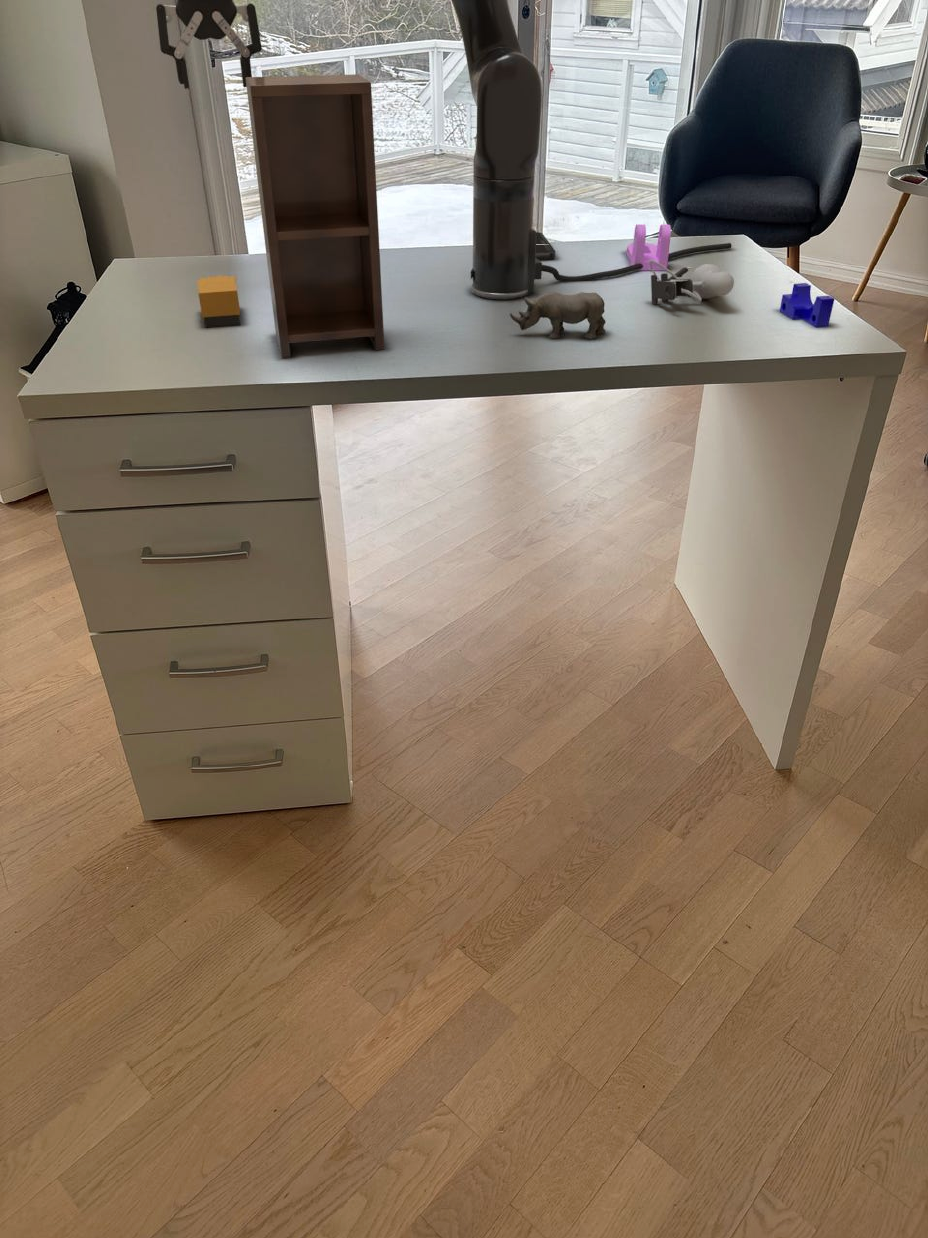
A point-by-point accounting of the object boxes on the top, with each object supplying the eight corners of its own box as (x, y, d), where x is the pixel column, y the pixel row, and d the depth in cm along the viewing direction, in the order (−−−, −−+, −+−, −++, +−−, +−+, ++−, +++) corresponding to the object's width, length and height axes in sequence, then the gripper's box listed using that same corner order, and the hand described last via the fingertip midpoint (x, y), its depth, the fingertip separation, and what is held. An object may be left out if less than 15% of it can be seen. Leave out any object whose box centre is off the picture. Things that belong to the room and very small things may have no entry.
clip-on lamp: (633, 301, 155) (665, 310, 138) (631, 261, 152) (664, 265, 136) (702, 292, 155) (742, 300, 139) (701, 251, 153) (742, 254, 136)
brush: (236, 290, 150) (231, 258, 147) (241, 324, 136) (237, 290, 133) (202, 293, 149) (196, 260, 146) (204, 327, 135) (198, 292, 132)
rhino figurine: (508, 329, 134) (509, 287, 131) (603, 330, 134) (607, 287, 131) (509, 339, 131) (510, 296, 128) (607, 339, 131) (611, 296, 127)
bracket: (666, 270, 160) (671, 227, 156) (633, 270, 160) (638, 227, 156) (655, 250, 170) (659, 210, 166) (624, 250, 170) (628, 209, 166)
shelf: (373, 328, 135) (359, 73, 116) (384, 349, 128) (371, 81, 109) (276, 336, 132) (245, 76, 113) (281, 358, 125) (250, 85, 106)
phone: (512, 253, 164) (501, 232, 176) (512, 260, 164) (500, 238, 177) (557, 252, 164) (542, 231, 177) (556, 259, 165) (541, 237, 177)
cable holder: (779, 311, 142) (784, 284, 139) (800, 309, 142) (805, 282, 140) (806, 327, 135) (812, 300, 133) (828, 326, 136) (834, 298, 134)
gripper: (144, -48, 124) (167, 91, 134) (252, -48, 127) (267, 88, 136) (145, -48, 130) (167, 85, 139) (249, -48, 133) (263, 83, 142)
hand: (216, 87), depth 138 cm, fingers open, 8 cm apart
